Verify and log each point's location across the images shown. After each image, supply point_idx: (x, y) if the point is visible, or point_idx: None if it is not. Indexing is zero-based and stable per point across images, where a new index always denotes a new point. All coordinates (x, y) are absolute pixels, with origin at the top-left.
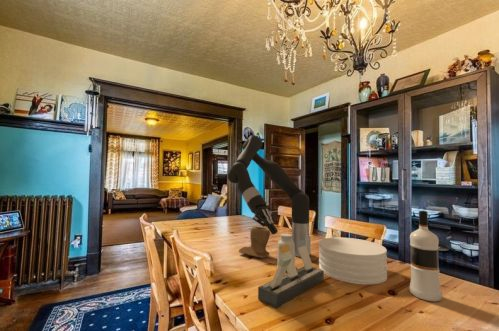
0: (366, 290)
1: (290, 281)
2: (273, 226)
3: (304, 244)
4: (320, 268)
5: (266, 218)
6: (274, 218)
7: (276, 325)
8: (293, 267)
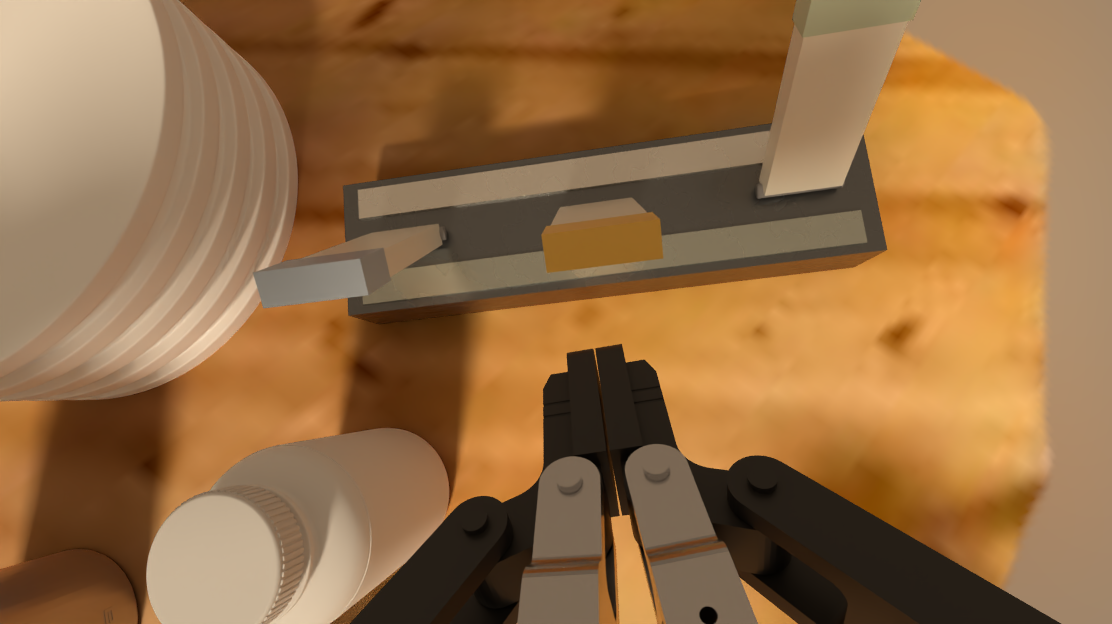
0: (308, 21)
1: (653, 193)
2: (608, 409)
3: (296, 260)
4: (240, 315)
5: (726, 564)
6: (421, 573)
7: (922, 49)
8: (580, 209)
